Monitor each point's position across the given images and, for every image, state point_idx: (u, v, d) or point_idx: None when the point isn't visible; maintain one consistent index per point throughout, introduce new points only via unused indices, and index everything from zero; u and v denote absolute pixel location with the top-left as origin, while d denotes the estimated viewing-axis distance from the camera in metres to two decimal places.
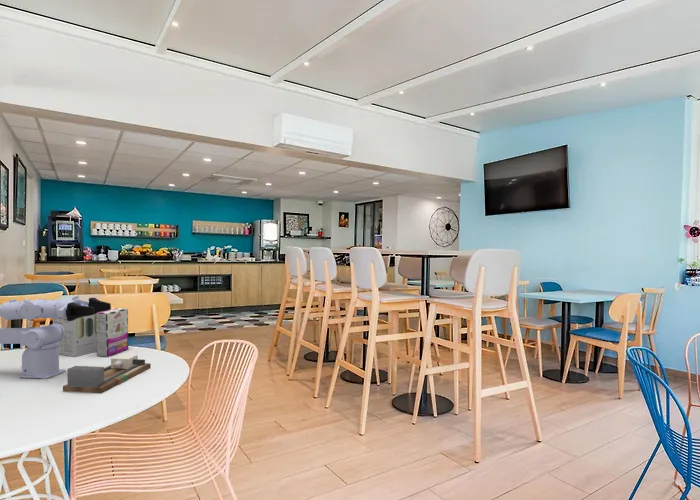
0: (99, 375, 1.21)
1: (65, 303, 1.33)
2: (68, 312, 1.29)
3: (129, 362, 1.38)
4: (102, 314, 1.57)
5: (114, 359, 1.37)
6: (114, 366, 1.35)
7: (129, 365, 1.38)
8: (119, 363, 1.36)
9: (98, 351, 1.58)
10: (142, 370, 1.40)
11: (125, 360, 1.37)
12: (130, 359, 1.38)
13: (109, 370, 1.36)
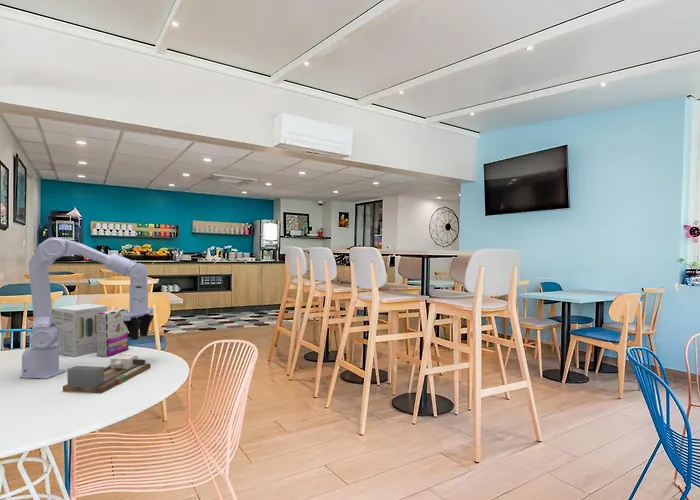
0: (99, 375, 1.21)
1: (141, 307, 1.45)
2: (130, 321, 1.43)
3: (129, 362, 1.38)
4: (102, 314, 1.57)
5: (114, 359, 1.37)
6: (114, 366, 1.35)
7: (129, 365, 1.38)
8: (119, 363, 1.36)
9: (98, 351, 1.58)
10: (142, 370, 1.40)
11: (125, 360, 1.37)
12: (130, 359, 1.38)
13: (109, 370, 1.36)
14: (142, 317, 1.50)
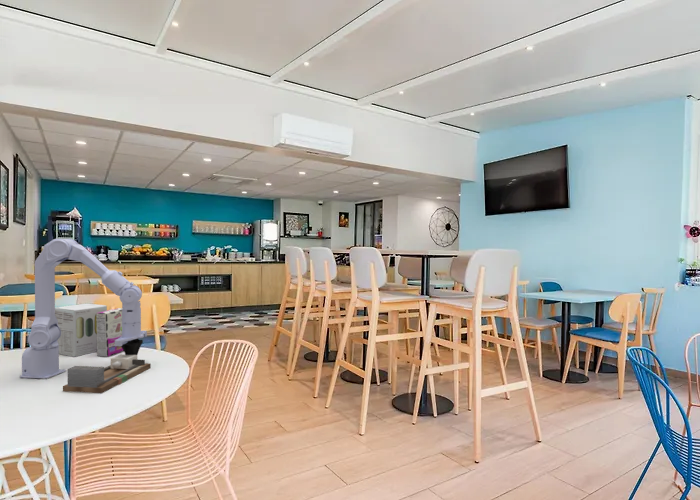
0: (99, 375, 1.21)
1: (133, 332, 1.41)
2: (127, 344, 1.41)
3: (129, 362, 1.37)
4: (102, 314, 1.57)
5: (114, 359, 1.37)
6: (114, 366, 1.35)
7: (129, 365, 1.37)
8: (119, 363, 1.36)
9: (98, 351, 1.58)
10: (142, 370, 1.40)
11: (125, 360, 1.37)
12: (130, 359, 1.38)
13: (109, 370, 1.36)
14: None
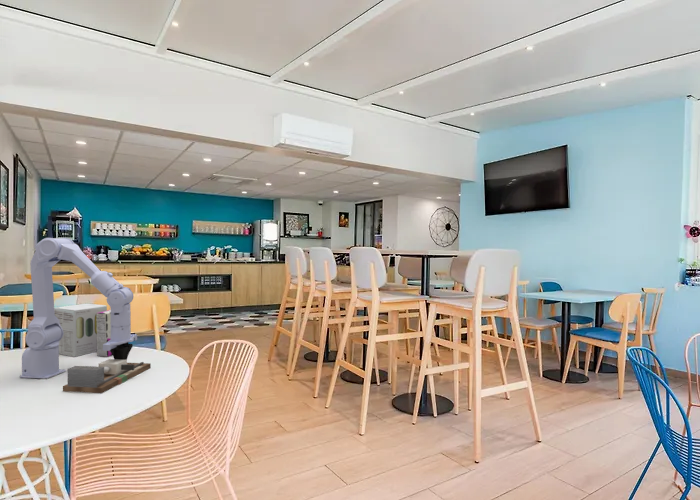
0: (99, 375, 1.21)
1: (123, 335, 1.36)
2: (116, 349, 1.35)
3: (117, 367, 1.32)
4: (102, 314, 1.57)
5: (102, 364, 1.32)
6: None
7: (117, 370, 1.32)
8: (107, 368, 1.30)
9: (98, 351, 1.58)
10: (142, 370, 1.40)
11: (113, 365, 1.31)
12: (118, 364, 1.32)
13: None
14: None
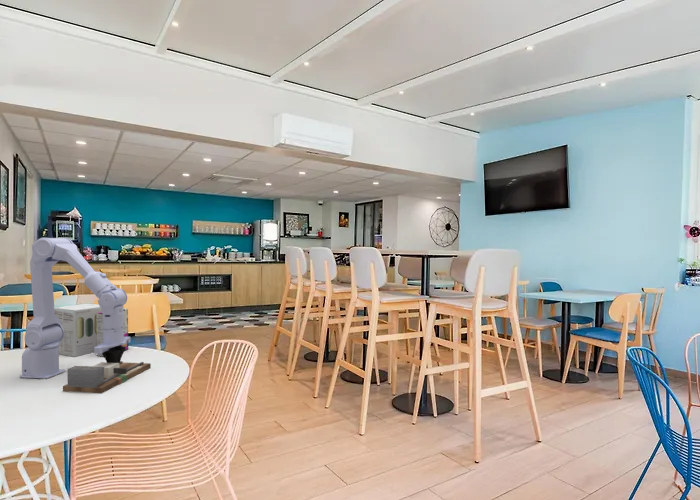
0: (99, 375, 1.21)
1: (115, 338, 1.32)
2: (108, 352, 1.32)
3: (109, 371, 1.28)
4: (102, 314, 1.57)
5: None
6: None
7: (109, 374, 1.28)
8: None
9: None
10: (142, 370, 1.40)
11: (105, 369, 1.28)
12: (111, 368, 1.29)
13: None
14: None
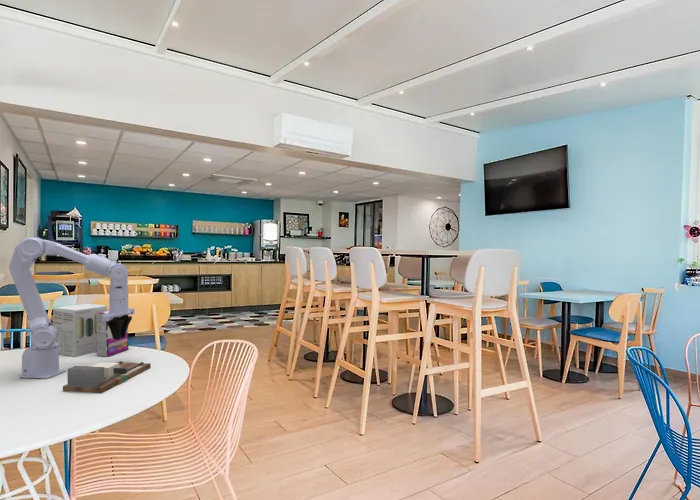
0: (99, 375, 1.21)
1: (121, 308, 1.44)
2: (112, 321, 1.43)
3: (109, 371, 1.28)
4: (102, 314, 1.57)
5: None
6: None
7: (109, 374, 1.28)
8: None
9: (98, 351, 1.58)
10: (142, 370, 1.40)
11: (105, 369, 1.28)
12: (111, 368, 1.29)
13: None
14: (120, 318, 1.47)
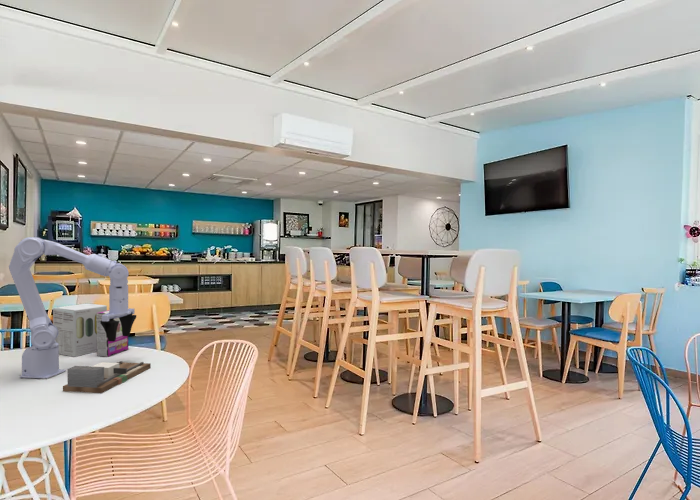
0: (99, 375, 1.21)
1: (121, 308, 1.44)
2: (107, 322, 1.40)
3: (109, 371, 1.28)
4: (102, 314, 1.57)
5: None
6: None
7: (109, 374, 1.28)
8: None
9: (98, 351, 1.58)
10: (142, 370, 1.40)
11: (105, 369, 1.28)
12: (111, 368, 1.29)
13: None
14: (124, 317, 1.50)
